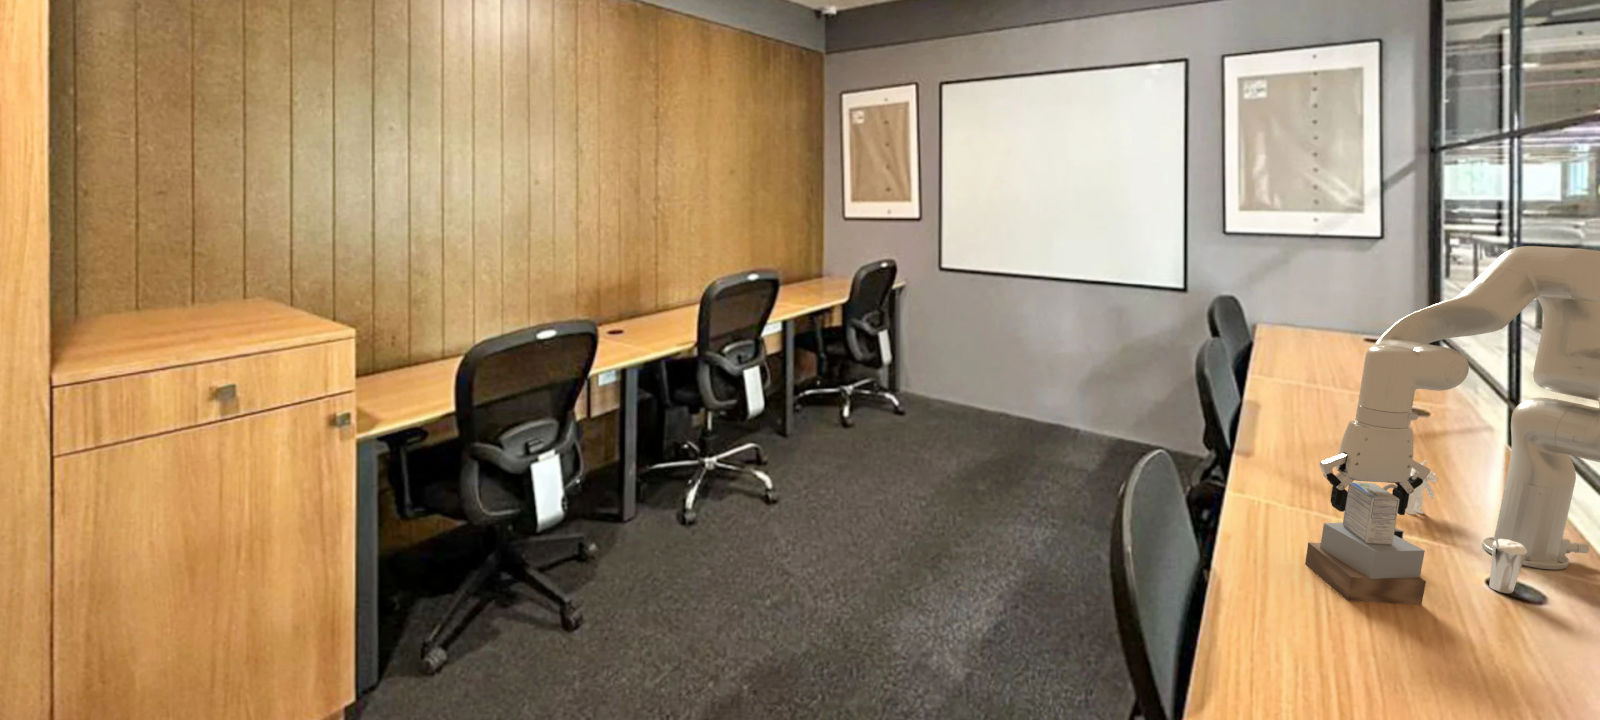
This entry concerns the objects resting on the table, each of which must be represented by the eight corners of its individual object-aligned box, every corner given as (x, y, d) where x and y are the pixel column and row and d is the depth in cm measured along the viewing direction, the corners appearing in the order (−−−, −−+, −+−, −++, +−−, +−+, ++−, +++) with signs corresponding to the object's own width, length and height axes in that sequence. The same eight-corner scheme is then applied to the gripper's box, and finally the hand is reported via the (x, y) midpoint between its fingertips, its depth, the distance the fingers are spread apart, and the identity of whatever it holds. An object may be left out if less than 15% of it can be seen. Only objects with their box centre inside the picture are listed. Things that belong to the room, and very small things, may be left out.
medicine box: (1393, 546, 136) (1401, 498, 134) (1365, 544, 136) (1373, 497, 135) (1367, 527, 143) (1375, 482, 142) (1341, 525, 144) (1348, 481, 142)
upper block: (1365, 547, 147) (1369, 522, 146) (1419, 577, 135) (1424, 550, 134) (1320, 548, 146) (1323, 523, 145) (1371, 578, 134) (1375, 551, 133)
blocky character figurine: (1420, 507, 178) (1429, 457, 176) (1437, 513, 175) (1447, 462, 172) (1388, 510, 176) (1397, 459, 174) (1404, 516, 173) (1413, 465, 170)
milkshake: (1473, 583, 143) (1483, 532, 140) (1500, 582, 143) (1511, 531, 141) (1497, 596, 138) (1508, 543, 136) (1525, 595, 139) (1536, 542, 137)
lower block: (1371, 570, 148) (1375, 545, 147) (1420, 608, 135) (1426, 581, 134) (1304, 566, 150) (1308, 542, 149) (1346, 603, 136) (1351, 577, 135)
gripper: (1423, 413, 138) (1407, 505, 141) (1317, 409, 140) (1304, 499, 144) (1452, 426, 131) (1434, 522, 134) (1340, 421, 133) (1325, 515, 136)
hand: (1367, 510), depth 139 cm, fingers open, 9 cm apart
